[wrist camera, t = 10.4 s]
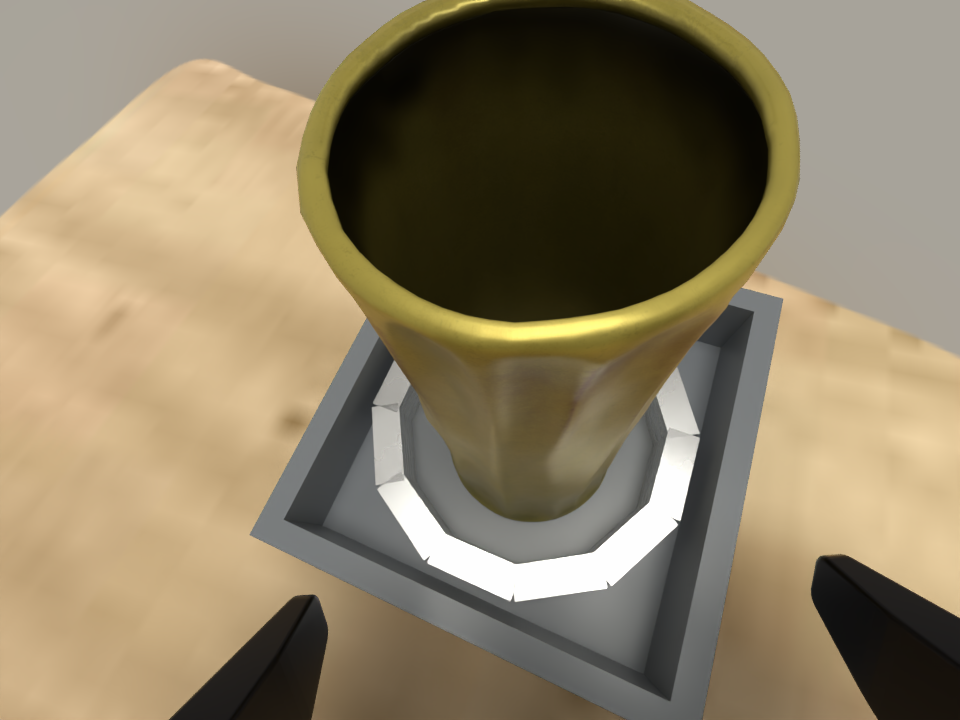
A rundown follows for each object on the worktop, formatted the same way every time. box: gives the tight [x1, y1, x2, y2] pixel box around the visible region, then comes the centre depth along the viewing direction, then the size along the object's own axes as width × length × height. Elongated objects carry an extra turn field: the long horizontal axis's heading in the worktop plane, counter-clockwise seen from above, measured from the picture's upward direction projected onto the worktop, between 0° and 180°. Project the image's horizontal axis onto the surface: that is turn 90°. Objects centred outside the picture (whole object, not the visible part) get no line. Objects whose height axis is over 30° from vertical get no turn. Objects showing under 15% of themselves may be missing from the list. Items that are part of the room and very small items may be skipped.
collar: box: [372, 360, 700, 602], centre depth 17 cm, size 11×11×2 cm
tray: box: [250, 288, 783, 720], centre depth 17 cm, size 14×14×4 cm
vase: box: [296, 0, 800, 522], centre depth 11 cm, size 6×6×14 cm
